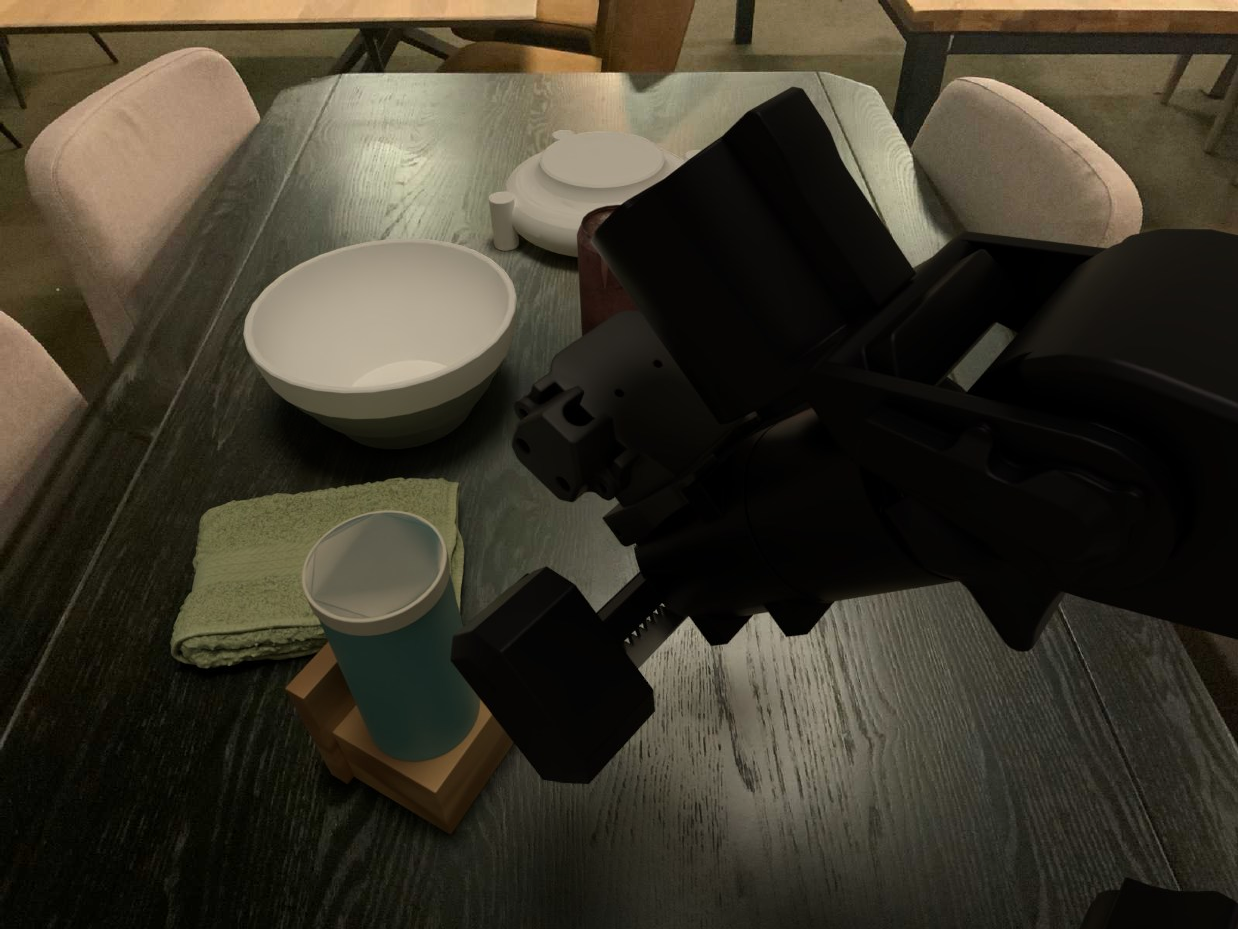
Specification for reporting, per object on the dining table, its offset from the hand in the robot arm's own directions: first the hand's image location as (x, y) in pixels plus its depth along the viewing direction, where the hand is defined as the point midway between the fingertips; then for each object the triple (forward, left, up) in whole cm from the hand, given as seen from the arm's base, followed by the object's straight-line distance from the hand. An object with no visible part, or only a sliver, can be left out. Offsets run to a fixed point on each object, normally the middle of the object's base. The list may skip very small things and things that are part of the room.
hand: (586, 577), depth 39 cm
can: (+17, -27, -14) cm, 35 cm away
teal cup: (+6, +6, -9) cm, 13 cm away
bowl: (+29, -14, -14) cm, 35 cm away
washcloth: (+21, +1, -14) cm, 25 cm away
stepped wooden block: (+6, +6, -14) cm, 16 cm away
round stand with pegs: (+33, -47, -14) cm, 59 cm away
